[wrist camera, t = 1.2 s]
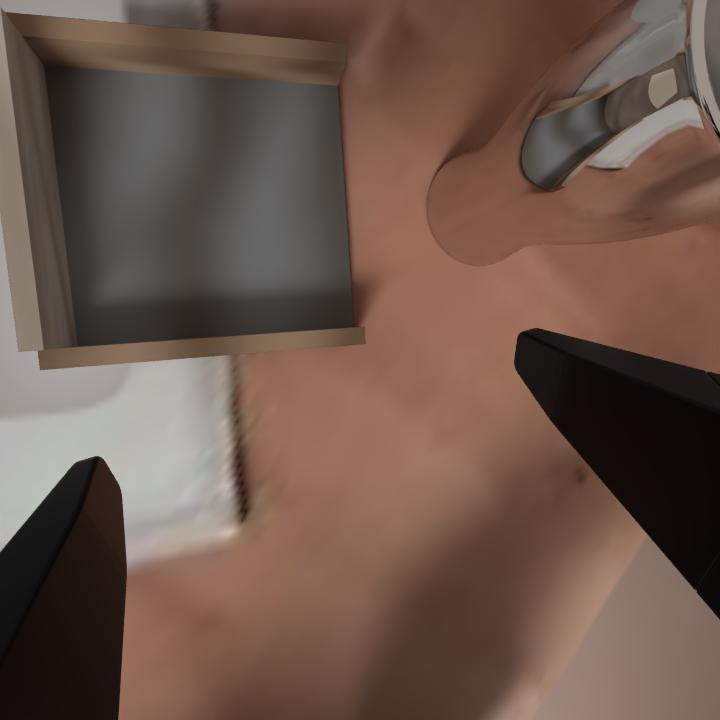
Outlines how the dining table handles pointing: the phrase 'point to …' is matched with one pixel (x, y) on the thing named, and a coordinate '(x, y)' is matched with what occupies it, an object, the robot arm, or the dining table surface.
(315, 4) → the dining table surface
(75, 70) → the wooden tray
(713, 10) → the silver metal cup
